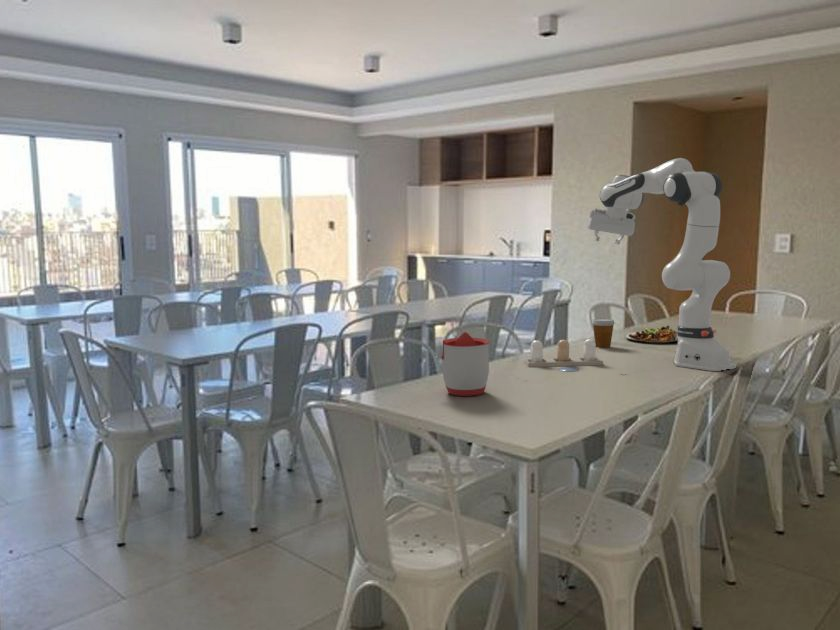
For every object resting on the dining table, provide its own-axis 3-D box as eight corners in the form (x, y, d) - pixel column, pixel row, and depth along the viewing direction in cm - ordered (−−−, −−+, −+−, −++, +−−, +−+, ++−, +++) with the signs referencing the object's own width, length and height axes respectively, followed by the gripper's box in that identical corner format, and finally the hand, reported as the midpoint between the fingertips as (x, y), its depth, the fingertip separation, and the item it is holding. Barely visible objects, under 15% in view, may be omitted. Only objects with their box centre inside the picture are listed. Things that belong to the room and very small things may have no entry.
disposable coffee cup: (596, 344, 312) (596, 317, 310) (617, 346, 306) (617, 318, 305) (588, 347, 304) (588, 320, 303) (609, 349, 299) (609, 321, 297)
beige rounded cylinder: (571, 363, 264) (571, 339, 263) (562, 365, 262) (563, 341, 261) (563, 362, 268) (563, 338, 267) (554, 363, 266) (554, 339, 265)
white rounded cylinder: (597, 363, 265) (598, 339, 263) (589, 364, 262) (589, 340, 261) (589, 361, 268) (589, 337, 267) (580, 362, 266) (581, 338, 265)
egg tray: (598, 363, 270) (598, 357, 269) (604, 367, 262) (604, 361, 261) (523, 365, 269) (523, 359, 268) (526, 369, 261) (526, 363, 260)
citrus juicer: (436, 387, 236) (435, 328, 233) (488, 386, 235) (487, 328, 233) (436, 399, 220) (435, 336, 218) (491, 398, 220) (491, 335, 217)
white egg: (545, 364, 264) (545, 340, 263) (536, 365, 262) (536, 341, 261) (537, 362, 268) (537, 338, 267) (528, 364, 265) (528, 340, 264)
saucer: (584, 373, 253) (584, 369, 253) (567, 376, 249) (567, 372, 249) (568, 369, 260) (568, 366, 260) (552, 372, 256) (552, 369, 256)
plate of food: (661, 333, 339) (661, 321, 338) (702, 341, 313) (702, 328, 313) (612, 339, 330) (611, 326, 329) (650, 348, 304) (650, 334, 303)
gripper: (593, 209, 304) (586, 240, 308) (639, 216, 305) (630, 247, 310) (590, 206, 310) (582, 237, 314) (634, 214, 311) (626, 244, 316)
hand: (606, 242), depth 312 cm, fingers open, 8 cm apart
